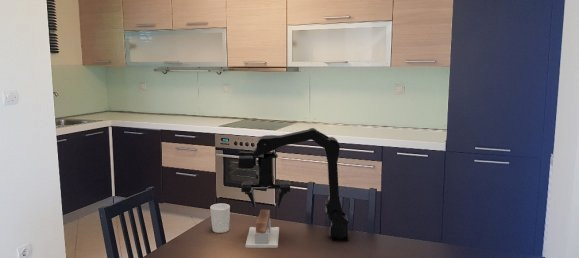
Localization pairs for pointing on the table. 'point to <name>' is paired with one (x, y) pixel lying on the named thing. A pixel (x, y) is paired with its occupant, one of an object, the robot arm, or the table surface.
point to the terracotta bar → (262, 221)
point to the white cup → (220, 217)
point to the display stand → (263, 238)
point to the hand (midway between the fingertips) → (266, 207)
